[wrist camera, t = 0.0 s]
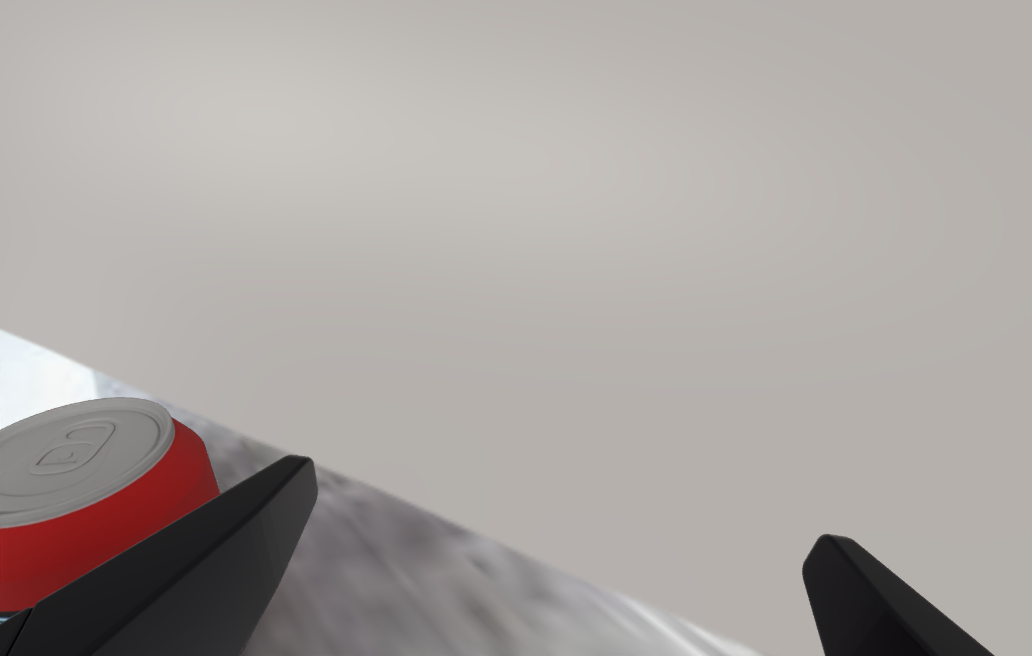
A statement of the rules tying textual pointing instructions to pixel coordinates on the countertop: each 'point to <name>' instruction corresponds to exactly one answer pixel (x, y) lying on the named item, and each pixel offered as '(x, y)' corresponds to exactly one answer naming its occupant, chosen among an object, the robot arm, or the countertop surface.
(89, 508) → the beverage can
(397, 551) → the countertop surface
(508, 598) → the countertop surface
